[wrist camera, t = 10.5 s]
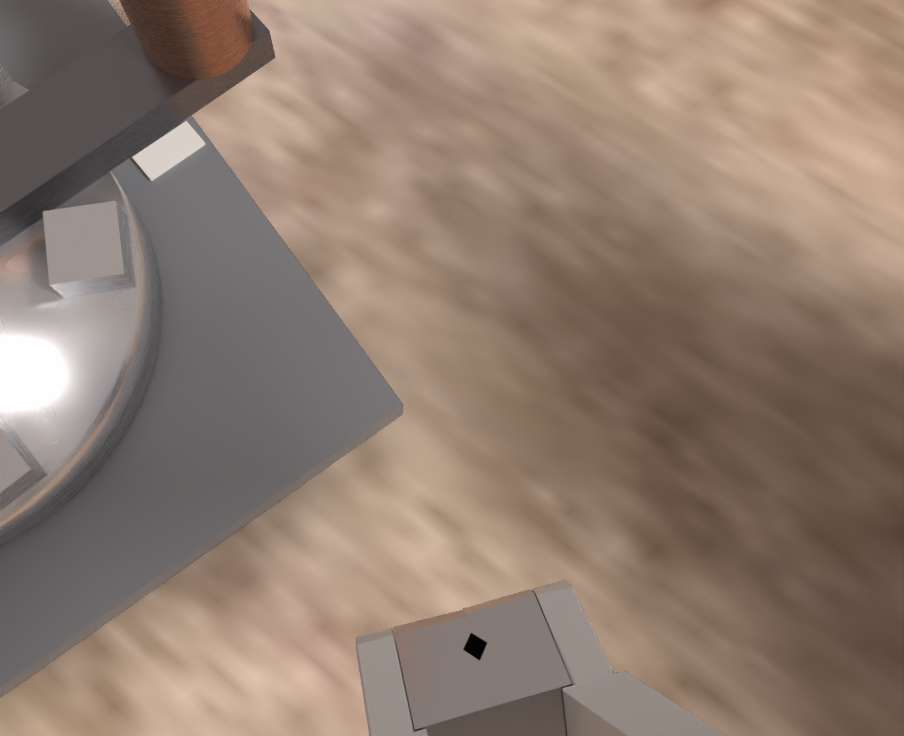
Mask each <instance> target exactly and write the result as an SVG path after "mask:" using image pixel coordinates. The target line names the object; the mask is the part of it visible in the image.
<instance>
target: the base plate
mask: <svg viewBox="0 0 904 736" xmlns="http://www.w3.org/2000/svg"><path fill="white" fill-rule="evenodd" d="M125 28H127V26H126V25H125V24H124V22H123V21H122V20H121V18H120V17H119V16H118V14H117V13H116V11H115V10H114V9H113V7H112V6H111V5H110V3H109V2H108V1H107V0H0V64H1V65H2V67H3V68H4V69H5V71H6V72H7V73H8V75H9V76H10V77H11V79H12V80H13V81H14V82H16V83H18V84H19V85H21V86H23V87H25V88H26V89H28V90H31V89H32V88H34V87H35V86H37V85H39V84H40V83H42V82H43V81H45V80H46V79H48V78H49V77H51V76H52V75H54V74H56V73H57V72H59V71H60V70H62V69H63V68H65V67H66V66H68V65H69V64H71V63H73V62H74V61H76V60H77V59H79V58H80V57H82V56H83V55H85V54H86V53H88V52H90V51H91V50H93V49H94V48H96V47H97V46H99V45H100V44H102V43H103V42H105V41H107V40H108V39H110V38H111V37H113V36H114V35H116V34H117V33H119V32H120V31H122V30H124V29H125ZM111 172H112V173H113V175H114V176H115V178H116V179H117V181H118V182H119V183H120V185H121V186H122V188H123V189H124V191H125V192H126V194H127V195H128V196H129V198H130V199H131V201H132V202H133V204H134V206H135V208H136V209H137V211H138V213H139V215H140V217H141V219H142V221H143V223H144V225H145V226H146V228H147V231H148V234H149V237H150V240H151V242H152V245H153V248H154V251H155V254H156V258H157V263H158V268H159V273H160V278H161V283H162V301H163V320H162V331H161V343H160V348H159V352H158V356H157V361H156V365H155V369H154V374H153V377H152V379H151V382H150V385H149V387H148V390H147V393H146V395H145V398H144V401H143V403H142V406H141V407H140V409H139V411H138V413H137V415H136V417H135V419H134V421H133V423H132V424H131V426H130V428H129V430H128V432H127V434H126V435H125V437H124V438H123V440H122V441H121V443H120V444H119V445H118V447H117V448H116V450H115V451H114V453H113V454H112V455H111V457H110V458H109V460H108V461H107V462H106V464H105V465H104V466H103V467H102V468H101V469H100V470H99V471H98V472H97V474H96V475H95V476H94V477H93V478H92V479H91V480H90V481H89V483H88V484H87V485H86V486H85V487H84V488H83V489H82V490H81V491H80V492H79V493H77V494H76V495H75V496H74V497H73V498H72V499H71V500H69V501H68V502H67V503H66V504H65V505H64V506H63V507H61V508H60V509H59V510H58V511H57V512H56V513H54V514H53V515H51V516H50V517H48V518H47V519H46V520H44V521H43V522H41V523H40V524H38V525H37V526H35V527H34V528H33V529H31V530H30V531H28V532H27V533H25V534H23V535H21V536H19V537H18V538H16V539H14V540H12V541H10V542H8V543H6V544H4V545H2V546H1V547H0V698H1V697H2V696H3V695H5V694H6V693H8V692H9V691H11V690H12V689H13V688H15V687H16V686H18V685H19V684H21V683H22V682H23V681H25V680H26V679H28V678H29V677H30V676H32V675H33V674H35V673H36V672H38V671H39V670H40V669H42V668H43V667H45V666H46V665H47V664H49V663H50V662H52V661H53V660H55V659H56V658H57V657H59V656H60V655H62V654H63V653H64V652H66V651H67V650H69V649H70V648H72V647H73V646H74V645H76V644H77V643H79V642H80V641H82V640H83V639H84V638H86V637H87V636H89V635H90V634H91V633H93V632H94V631H96V630H97V629H99V628H100V627H101V626H103V625H104V624H106V623H107V622H108V621H110V620H111V619H113V618H114V617H116V616H117V615H118V614H120V613H121V612H123V611H124V610H125V609H127V608H128V607H130V606H131V605H133V604H134V603H135V602H137V601H138V600H140V599H141V598H143V597H144V596H145V595H147V594H148V593H150V592H151V591H152V590H154V589H155V588H157V587H158V586H160V585H161V584H162V583H164V582H165V581H167V580H168V579H169V578H171V577H172V576H174V575H175V574H177V573H178V572H179V571H181V570H182V569H184V568H185V567H187V566H188V565H189V564H191V563H192V562H194V561H195V560H196V559H198V558H199V557H201V556H202V555H204V554H205V553H206V552H208V551H209V550H211V549H212V548H213V547H215V546H216V545H218V544H219V543H221V542H222V541H223V540H225V539H226V538H228V537H229V536H230V535H232V534H233V533H235V532H236V531H238V530H239V529H240V528H242V527H243V526H245V525H246V524H248V523H249V522H250V521H252V520H253V519H255V518H256V517H257V516H259V515H260V514H262V513H263V512H265V511H266V510H267V509H269V508H270V507H272V506H273V505H274V504H276V503H277V502H279V501H280V500H282V499H283V498H284V497H286V496H287V495H289V494H290V493H292V492H293V491H294V490H296V489H297V488H299V487H300V486H301V485H303V484H304V483H306V482H307V481H309V480H310V479H311V478H313V477H314V476H316V475H317V474H318V473H320V472H321V471H323V470H324V469H326V468H327V467H328V466H330V465H331V464H333V463H334V462H335V461H337V460H338V459H340V458H341V457H343V456H344V455H345V454H347V453H348V452H350V451H351V450H353V449H354V448H355V447H357V446H358V445H360V444H361V443H362V442H364V441H365V440H367V439H368V438H370V437H371V436H372V435H374V434H375V433H377V432H378V431H379V430H381V429H382V428H384V427H385V426H387V425H388V424H389V423H391V422H392V421H394V420H395V419H397V418H398V417H399V416H401V415H402V414H403V403H402V402H401V401H400V399H399V398H398V396H397V395H396V394H395V392H394V391H393V390H392V388H391V387H390V386H389V384H388V383H387V381H386V380H385V379H384V377H383V376H382V375H381V373H380V372H379V371H378V369H377V368H376V366H375V365H374V364H373V362H372V361H371V360H370V358H369V357H368V355H367V354H366V353H365V351H364V350H363V349H362V347H361V346H360V345H359V343H358V342H357V340H356V339H355V338H354V336H353V335H352V334H351V332H350V331H349V330H348V328H347V327H346V325H345V324H344V323H343V321H342V320H341V319H340V317H339V316H338V315H337V313H336V312H335V310H334V309H333V308H332V306H331V305H330V304H329V302H328V301H327V300H326V298H325V297H324V295H323V294H322V293H321V291H320V290H319V289H318V287H317V286H316V285H315V283H314V282H313V280H312V279H311V278H310V276H309V275H308V274H307V272H306V271H305V269H304V268H303V267H302V265H301V264H300V263H299V261H298V260H297V259H296V257H295V256H294V254H293V253H292V252H291V250H290V249H289V248H288V246H287V245H286V244H285V242H284V241H283V239H282V238H281V237H280V235H279V234H278V233H277V231H276V230H275V229H274V227H273V226H272V224H271V223H270V222H269V220H268V219H267V218H266V216H265V215H264V214H263V212H262V211H261V209H260V208H259V207H258V205H257V204H256V203H255V201H254V200H253V199H252V197H251V196H250V194H249V193H248V192H247V190H246V189H245V188H244V186H243V185H242V183H241V182H240V181H239V179H238V178H237V177H236V175H235V174H234V173H233V171H232V170H231V168H230V167H229V166H228V164H227V163H226V162H225V160H224V159H223V158H222V156H221V155H220V153H219V152H218V151H217V149H216V148H215V147H214V145H213V144H212V143H211V141H210V140H209V138H208V137H207V136H206V134H205V133H204V132H203V130H202V129H201V128H200V126H199V125H198V123H197V122H196V121H195V119H194V118H193V117H192V115H191V116H190V117H188V118H187V119H185V120H184V121H182V122H181V123H180V124H178V125H177V126H175V127H174V128H172V129H171V130H169V131H168V132H166V133H165V134H164V135H162V136H161V137H159V138H158V139H156V140H155V141H153V142H152V143H150V144H149V145H148V146H146V147H145V148H143V149H142V150H140V151H139V152H137V153H136V154H134V155H133V156H132V157H130V158H129V159H127V160H126V161H124V162H123V163H121V164H120V165H118V166H117V167H116V168H114V169H113V170H111Z"/></svg>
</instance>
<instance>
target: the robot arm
mask: <svg viewBox="0 0 904 736" xmlns="http://www.w3.org/2000/svg"><path fill="white" fill-rule="evenodd" d="M393 629H394V631H393ZM356 652H357V658H358V665H359V671H360V678H361V684H362V691H363V697H364V704H365V710H366V716H367V723H368V729H369V736H727V735H725V734H724V733H722V732H720V731H719V730H717V729H716V728H714V727H712V726H711V725H709V724H708V723H706V722H705V721H703V720H701V719H700V718H698V717H697V716H695V715H694V714H692V713H690V712H689V711H687V710H686V709H684V708H683V707H681V706H679V705H678V704H676V703H675V702H673V701H672V700H670V699H668V698H667V697H665V696H664V695H662V694H661V693H659V692H657V691H656V690H654V689H653V688H651V687H650V686H648V685H646V684H645V683H643V682H642V681H640V680H638V679H637V678H635V677H634V676H632V675H631V674H629V673H627V672H626V671H621V672H617V673H614V672H613V670H612V668H611V666H610V664H609V662H608V660H607V658H606V655H605V653H604V651H603V649H602V647H601V645H600V643H599V641H598V639H597V637H596V635H595V633H594V630H593V628H592V626H591V624H590V622H589V620H588V618H587V616H586V614H585V612H584V610H583V608H582V605H581V603H580V601H579V599H578V597H577V595H576V593H575V591H574V589H573V587H572V585H571V584H570V583H569V582H568V581H567V580H563V581H560V582H556V583H552V584H549V585H545V586H542V587H538V588H534V589H532V591H531V590H530V589H529V590H526V591H522V592H519V593H515V594H512V595H508V596H505V597H501V598H498V599H495V600H491V601H488V602H484V603H481V604H477V605H474V606H470V607H467V608H463V610H460V611H456V612H452V613H448V614H444V615H440V616H436V617H432V618H428V619H424V620H420V621H416V622H412V623H408V624H404V625H400V626H396V627H393V628H390V629H386V630H382V631H378V632H374V633H370V634H366V635H362V636H359V637H356Z"/></svg>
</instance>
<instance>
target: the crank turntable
mask: <svg viewBox="0 0 904 736" xmlns="http://www.w3.org/2000/svg"><path fill="white" fill-rule="evenodd" d="M120 2H121V4H122V6H123V8H124V10H125V13H126V15H127V17H128V19H129V21H130V23H131V25H130V26H128V27H127V28H125V29H124V30H122V31H120V32H119V33H117V34H116V35H114V36H113V37H111V38H110V39H108V40H107V41H105V42H103V43H102V44H100V45H99V46H97V47H96V48H94V49H93V50H91V51H90V52H88V53H86V54H85V55H83V56H82V57H80V58H79V59H77V60H76V61H74V62H73V63H71V64H69V65H68V66H66V67H65V68H63V69H62V70H60V71H59V72H57V73H56V74H54V75H52V76H51V77H49V78H48V79H46V80H45V81H43V82H42V83H40V84H39V85H37V86H35V87H34V88H32V89H31V90H28V89H26V88H25V87H23V86H21V85H19V84H18V83H16V82H14V81H13V80H12V79H11V77H10V76H9V75H8V73H7V72H6V71H5V69H4V68H3V67H2V65H1V64H0V547H1V546H2V545H4V544H6V543H8V542H10V541H12V540H14V539H16V538H18V537H19V536H21V535H23V534H25V533H27V532H28V531H30V530H31V529H33V528H34V527H35V526H37V525H38V524H40V523H41V522H43V521H44V520H46V519H47V518H48V517H50V516H51V515H53V514H54V513H56V512H57V511H58V510H59V509H60V508H61V507H63V506H64V505H65V504H66V503H67V502H68V501H69V500H71V499H72V498H73V497H74V496H75V495H76V494H77V493H79V492H80V491H81V490H82V489H83V488H84V487H85V486H86V485H87V484H88V483H89V481H90V480H91V479H92V478H93V477H94V476H95V475H96V474H97V472H98V471H99V470H100V469H101V468H102V467H103V466H104V465H105V464H106V462H107V461H108V460H109V458H110V457H111V455H112V454H113V453H114V451H115V450H116V448H117V447H118V445H119V444H120V443H121V441H122V440H123V438H124V437H125V435H126V434H127V432H128V430H129V428H130V426H131V424H132V423H133V421H134V419H135V417H136V415H137V413H138V411H139V409H140V407H141V406H142V403H143V401H144V398H145V395H146V393H147V390H148V387H149V385H150V382H151V379H152V377H153V374H154V369H155V365H156V361H157V356H158V352H159V348H160V343H161V331H162V320H163V301H162V283H161V278H160V273H159V268H158V263H157V258H156V254H155V251H154V248H153V245H152V242H151V240H150V237H149V234H148V231H147V228H146V226H145V225H144V223H143V221H142V219H141V217H140V215H139V213H138V211H137V209H136V208H135V206H134V204H133V202H132V201H131V199H130V198H129V196H128V195H127V194H126V192H125V191H124V189H123V188H122V186H121V185H120V183H119V182H118V181H117V179H116V178H115V176H114V175H113V173H112V172H111V170H113V169H114V168H116V167H117V166H118V165H120V164H121V163H123V162H124V161H126V160H127V159H129V158H130V157H132V156H133V155H134V154H136V153H137V152H139V151H140V150H142V149H143V148H145V147H146V146H148V145H149V144H150V143H152V142H153V141H155V140H156V139H158V138H159V137H161V136H162V135H164V134H165V133H166V132H168V131H169V130H171V129H172V128H174V127H175V126H177V125H178V124H180V123H181V122H182V121H184V120H185V119H187V118H188V117H190V116H191V115H193V114H194V113H196V112H197V111H198V110H200V109H201V108H203V107H204V106H206V105H207V104H209V103H210V102H212V101H213V100H214V99H216V98H217V97H219V96H220V95H222V94H223V93H225V92H226V91H228V90H229V89H230V88H232V87H233V86H235V85H236V84H238V83H239V82H241V81H242V80H244V79H245V78H246V77H248V76H249V75H251V74H252V73H254V72H255V71H257V70H258V69H259V68H261V67H262V66H264V65H265V64H267V63H268V62H270V61H271V60H273V59H274V58H275V54H274V49H273V45H272V40H271V36H270V31H269V30H268V29H267V28H266V26H265V25H264V24H263V23H262V22H261V21H260V20H259V19H258V18H257V17H256V16H255V14H254V13H253V12H252V11H251V10H250V9H249V5H248V1H247V0H120Z"/></svg>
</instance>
